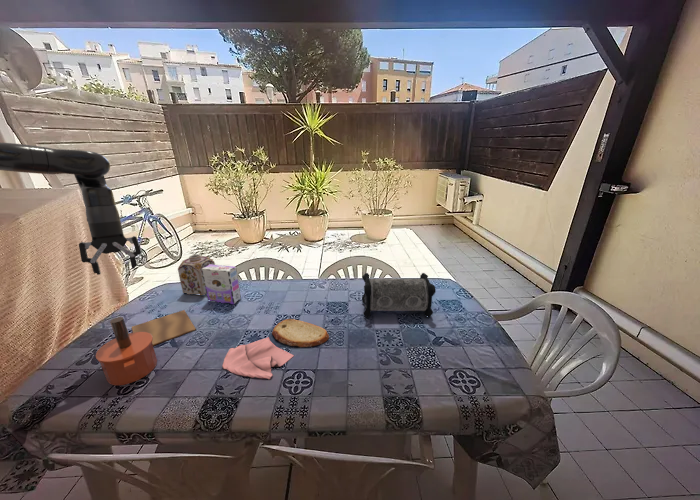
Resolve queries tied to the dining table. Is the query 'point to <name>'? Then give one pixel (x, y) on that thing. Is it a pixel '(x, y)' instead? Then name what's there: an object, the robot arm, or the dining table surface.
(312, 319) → the dining table surface
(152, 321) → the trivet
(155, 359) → the pot
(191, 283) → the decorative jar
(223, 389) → the dining table surface
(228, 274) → the candy box
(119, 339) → the lid
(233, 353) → the cloth
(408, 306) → the speaker
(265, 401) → the dining table surface
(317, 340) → the slice of bread
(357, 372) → the dining table surface
